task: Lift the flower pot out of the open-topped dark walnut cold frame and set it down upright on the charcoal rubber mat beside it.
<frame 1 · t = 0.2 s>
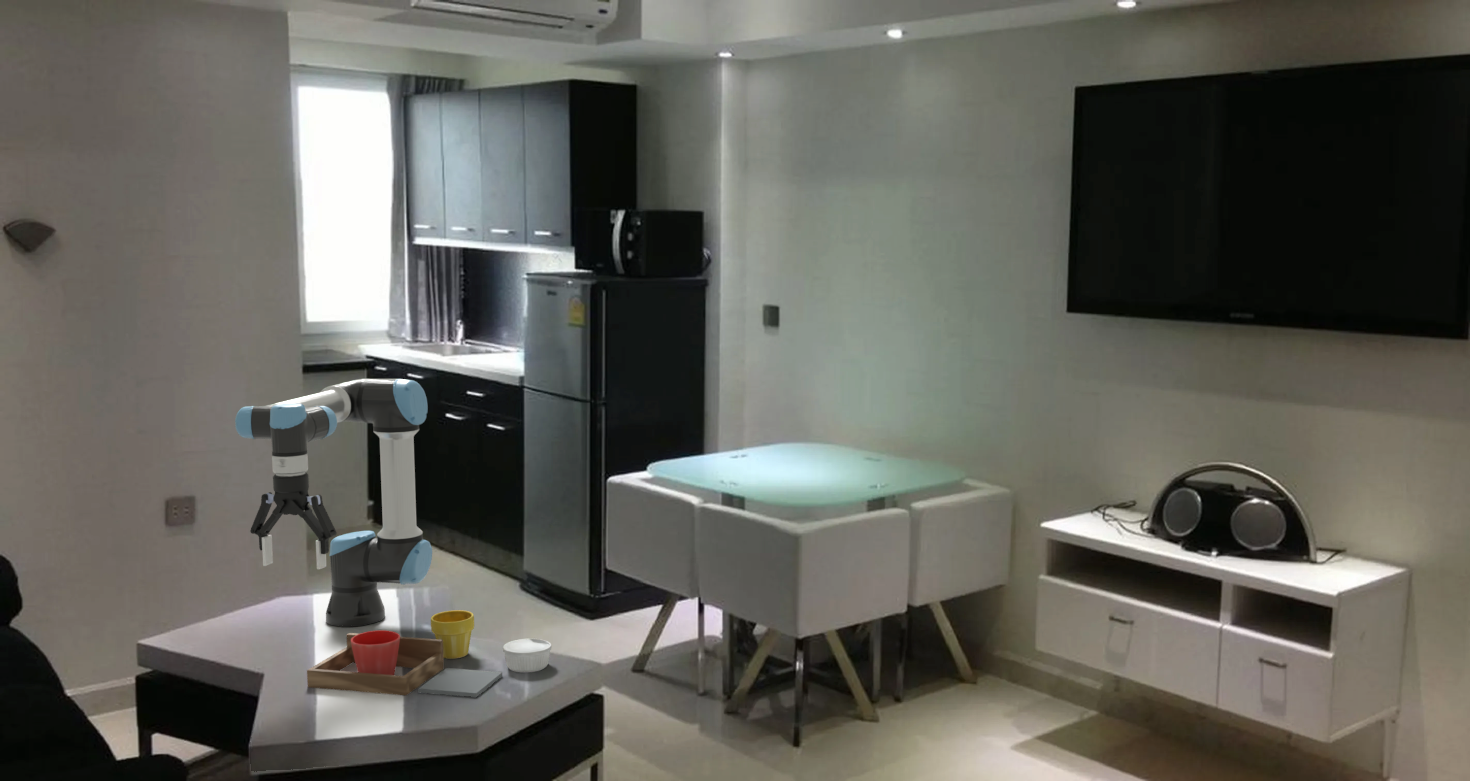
hand: (294, 566, 284), 28 cm above the table, tool pointing down, fingers open, 13 cm apart
cold frame: (377, 677, 292), on the table
flower pot: (377, 678, 292), resting in cold frame
ramekin: (527, 667, 299), on the table
plant pot: (453, 655, 308), on the table
rubber mat: (461, 684, 287), on the table
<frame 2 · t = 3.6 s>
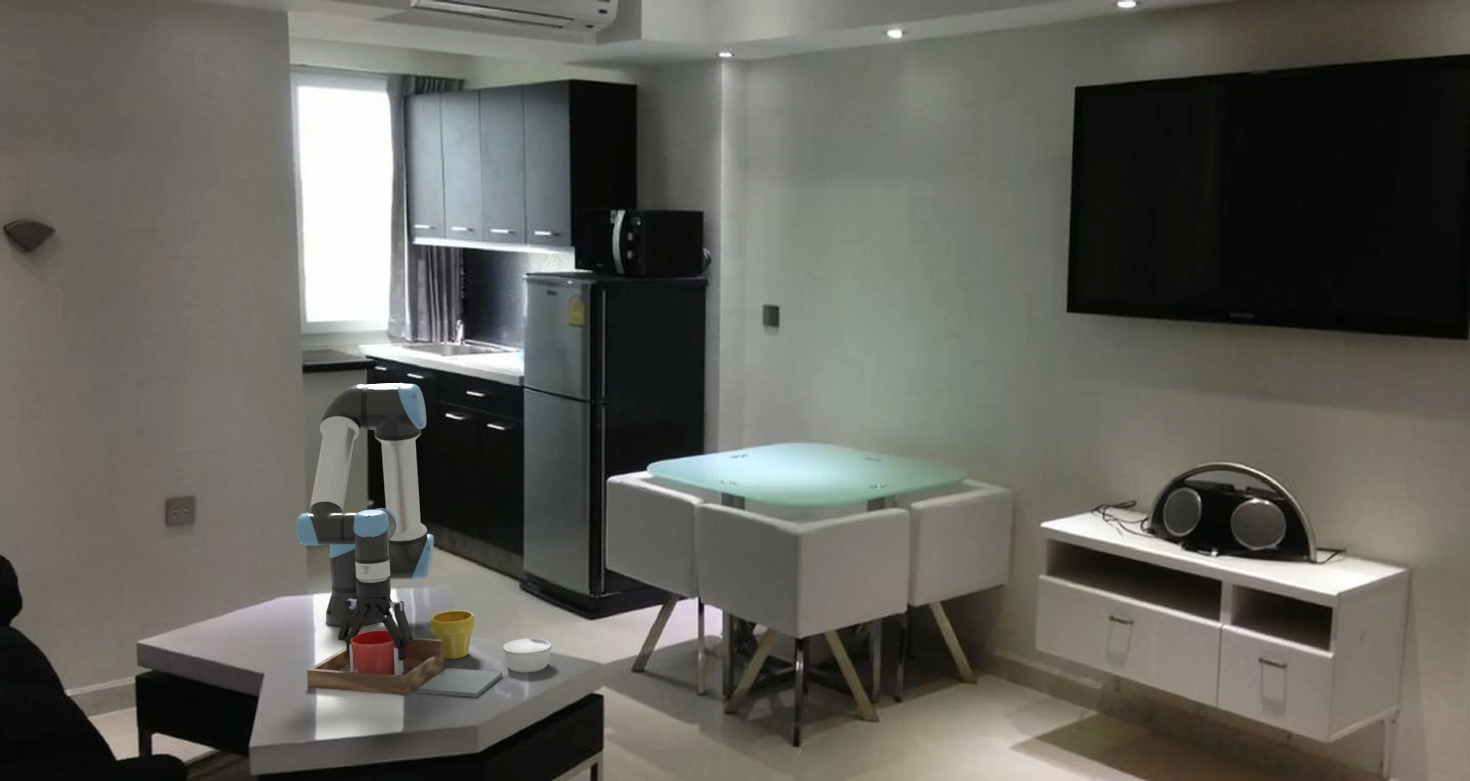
hand: (376, 671, 291), 1 cm above the table, tool pointing down, fingers closed on flower pot, 10 cm apart
flower pot: (377, 678, 292), resting in cold frame, touching gripper
everything else where it was.
when the fingers open (3 cm above the table, at t = 11.7 s): flower pot moves 2 cm, resting on rubber mat.
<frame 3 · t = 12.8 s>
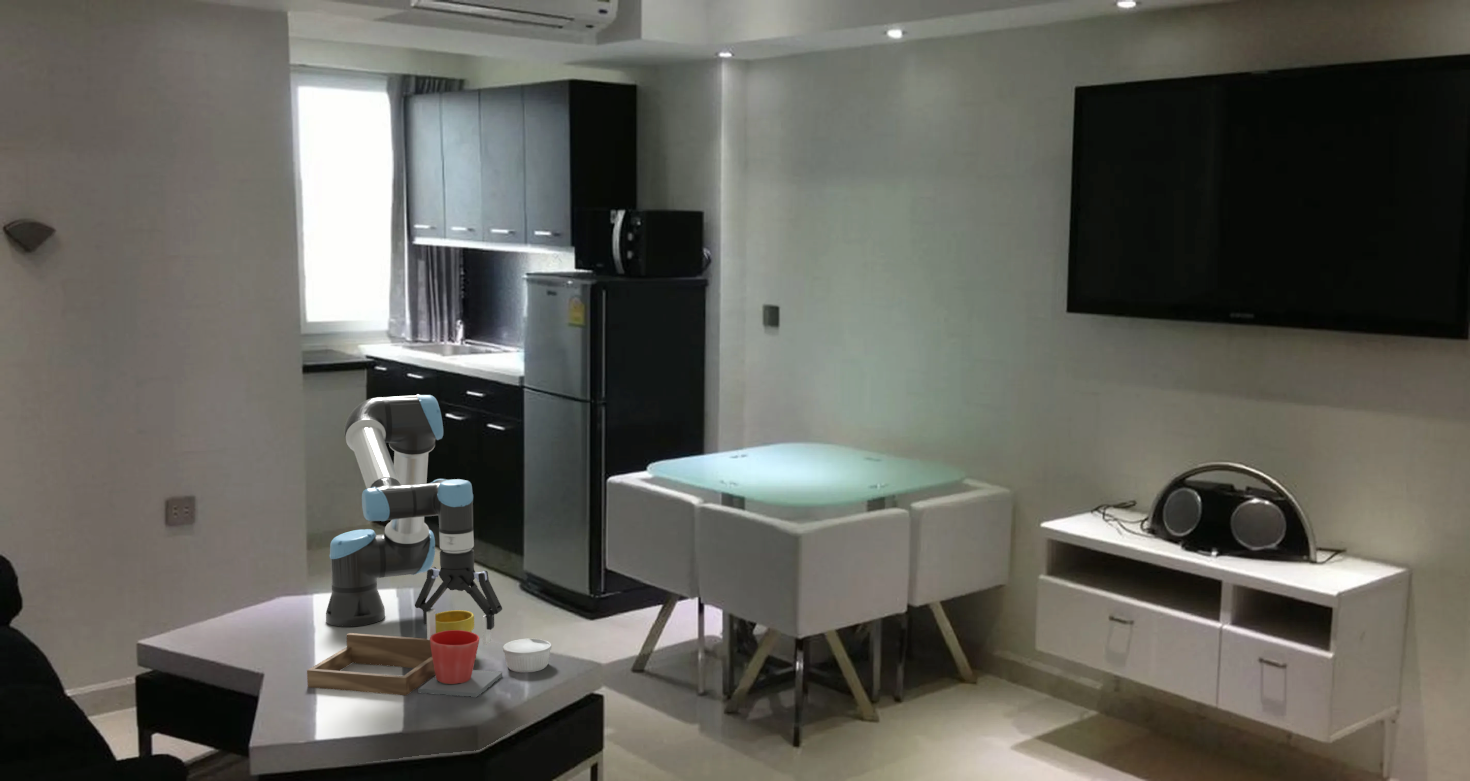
hand: (459, 640, 286), 10 cm above the table, tool pointing down, fingers open, 13 cm apart
flower pot: (453, 679, 287), point 1 cm above the table, touching gripper, rubber mat
everything else where it was.
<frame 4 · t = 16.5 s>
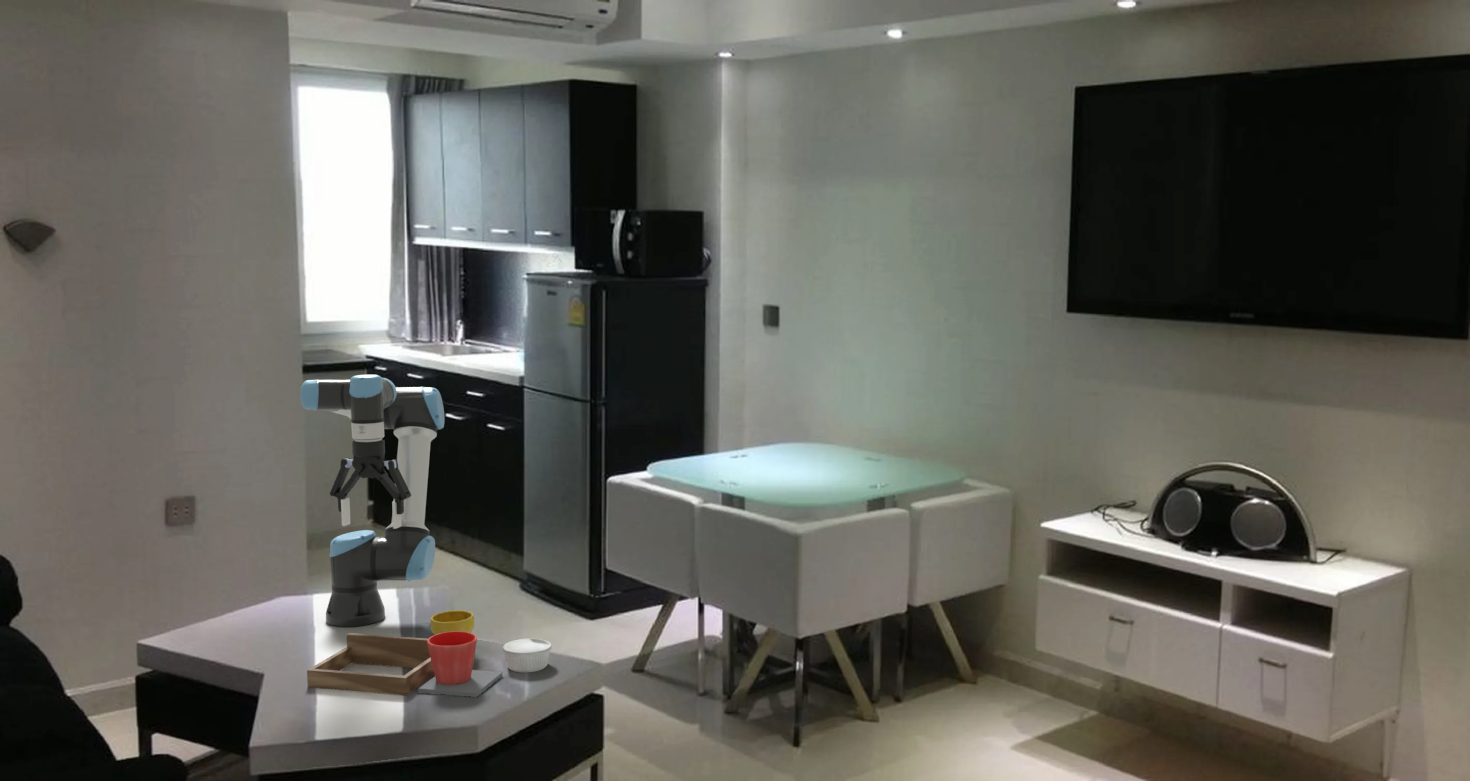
hand: (371, 526, 306), 32 cm above the table, tool pointing down, fingers open, 13 cm apart
flower pot: (453, 680, 287), point 1 cm above the table, touching rubber mat
everything else where it was.
at the end: flower pot inside the target area on the rubber mat (1.9 cm from its centre), point 0.8 cm above the rubber mat's base; flower pot tilted 0°; the gripper is holding nothing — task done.
